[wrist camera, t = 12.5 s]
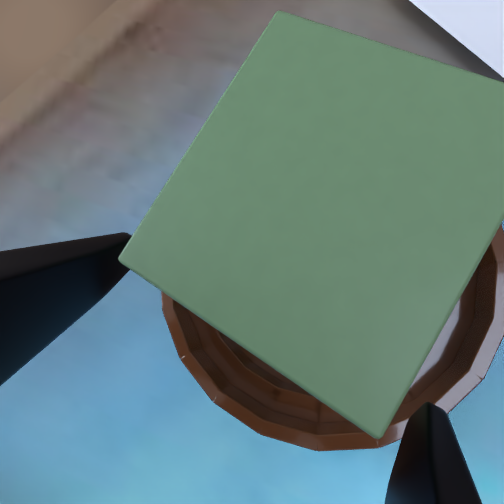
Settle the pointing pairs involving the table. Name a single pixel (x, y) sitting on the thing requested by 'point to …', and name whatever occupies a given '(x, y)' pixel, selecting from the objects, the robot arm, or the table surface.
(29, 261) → the robot arm
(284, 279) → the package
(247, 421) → the bowl
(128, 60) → the table surface
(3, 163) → the table surface
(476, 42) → the bracket
